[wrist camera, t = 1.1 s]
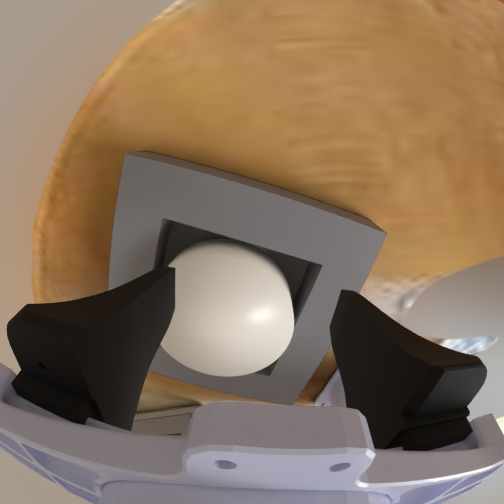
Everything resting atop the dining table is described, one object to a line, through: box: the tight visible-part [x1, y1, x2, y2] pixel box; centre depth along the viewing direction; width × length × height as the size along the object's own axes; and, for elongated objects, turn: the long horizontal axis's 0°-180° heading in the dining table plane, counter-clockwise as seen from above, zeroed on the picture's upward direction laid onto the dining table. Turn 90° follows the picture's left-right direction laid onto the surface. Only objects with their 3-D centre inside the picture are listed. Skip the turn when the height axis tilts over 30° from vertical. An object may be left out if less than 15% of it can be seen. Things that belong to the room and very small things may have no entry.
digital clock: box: [131, 405, 202, 436], centre depth 27 cm, size 16×9×11 cm, turn 104°
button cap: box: [160, 238, 294, 377], centre depth 20 cm, size 10×10×3 cm
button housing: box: [108, 151, 387, 405], centre depth 22 cm, size 18×18×4 cm
